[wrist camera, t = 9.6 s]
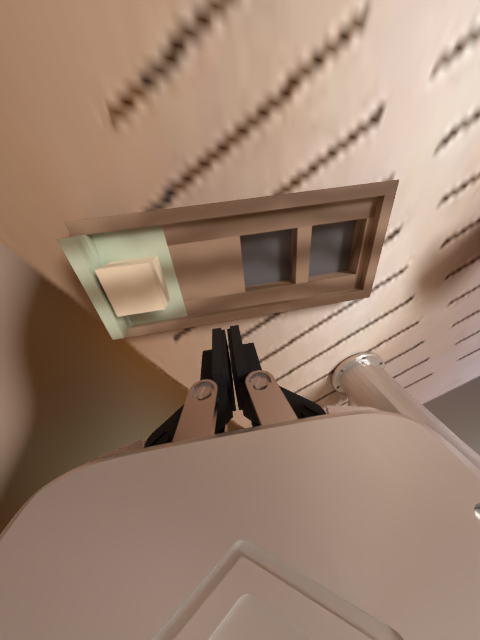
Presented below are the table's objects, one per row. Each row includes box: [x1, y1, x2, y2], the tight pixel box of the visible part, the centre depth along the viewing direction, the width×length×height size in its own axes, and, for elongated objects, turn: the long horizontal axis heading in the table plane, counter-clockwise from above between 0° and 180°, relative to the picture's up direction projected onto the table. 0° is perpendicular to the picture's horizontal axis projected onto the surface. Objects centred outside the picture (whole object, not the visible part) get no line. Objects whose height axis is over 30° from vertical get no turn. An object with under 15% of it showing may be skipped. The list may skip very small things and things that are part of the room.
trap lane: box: [57, 180, 399, 340], centre depth 27 cm, size 16×40×6 cm, turn 96°
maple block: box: [95, 256, 170, 317], centre depth 25 cm, size 6×6×4 cm
